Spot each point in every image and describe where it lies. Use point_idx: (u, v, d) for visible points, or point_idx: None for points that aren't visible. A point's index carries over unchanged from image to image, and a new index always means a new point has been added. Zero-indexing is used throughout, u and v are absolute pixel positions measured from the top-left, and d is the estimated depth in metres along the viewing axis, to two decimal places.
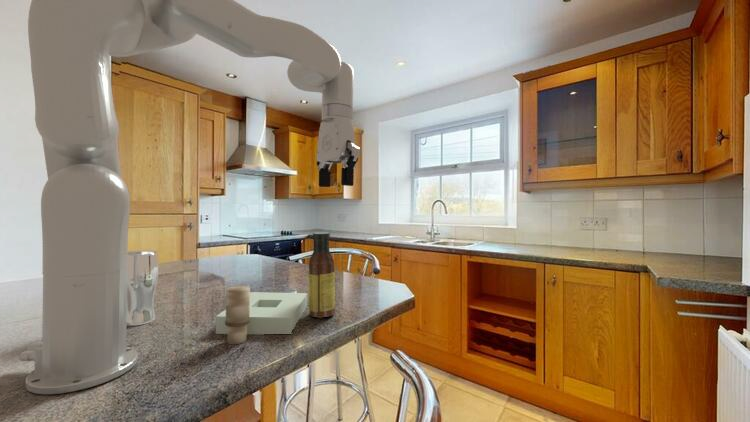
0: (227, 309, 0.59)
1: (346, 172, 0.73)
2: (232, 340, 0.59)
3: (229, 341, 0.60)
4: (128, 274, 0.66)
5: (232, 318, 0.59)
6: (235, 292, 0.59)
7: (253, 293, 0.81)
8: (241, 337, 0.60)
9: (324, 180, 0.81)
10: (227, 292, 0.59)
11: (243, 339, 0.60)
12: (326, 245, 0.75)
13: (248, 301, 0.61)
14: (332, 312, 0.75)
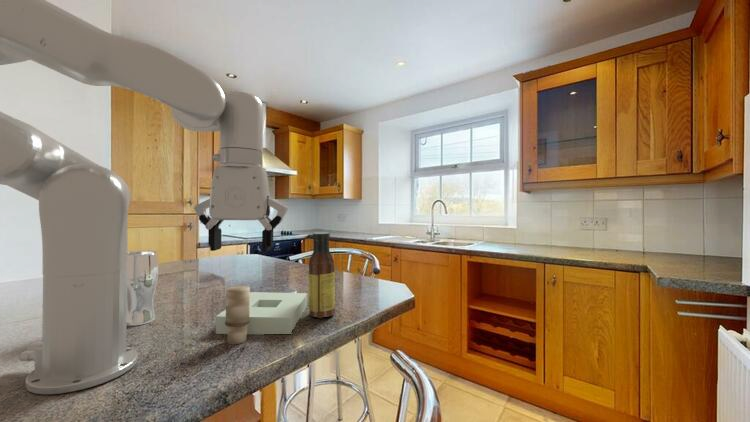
0: (227, 309, 0.59)
1: (269, 235, 0.60)
2: (232, 340, 0.59)
3: (229, 341, 0.60)
4: (128, 274, 0.66)
5: (232, 318, 0.59)
6: (235, 292, 0.59)
7: (253, 293, 0.81)
8: (241, 337, 0.60)
9: (217, 242, 0.61)
10: (227, 292, 0.59)
11: (243, 339, 0.60)
12: (326, 245, 0.75)
13: (248, 301, 0.61)
14: (332, 312, 0.75)
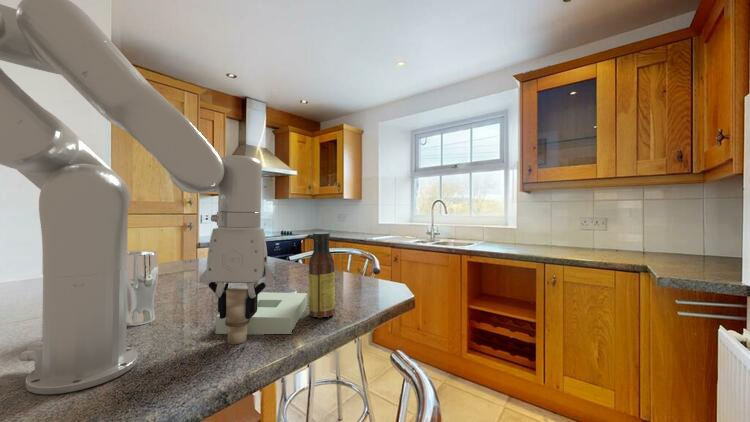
0: (227, 309, 0.59)
1: (252, 302, 0.60)
2: (233, 340, 0.59)
3: (229, 341, 0.60)
4: (128, 274, 0.66)
5: (232, 318, 0.59)
6: (235, 292, 0.59)
7: None
8: (241, 337, 0.60)
9: None
10: (227, 292, 0.59)
11: (243, 339, 0.60)
12: (326, 245, 0.75)
13: None
14: (332, 312, 0.75)
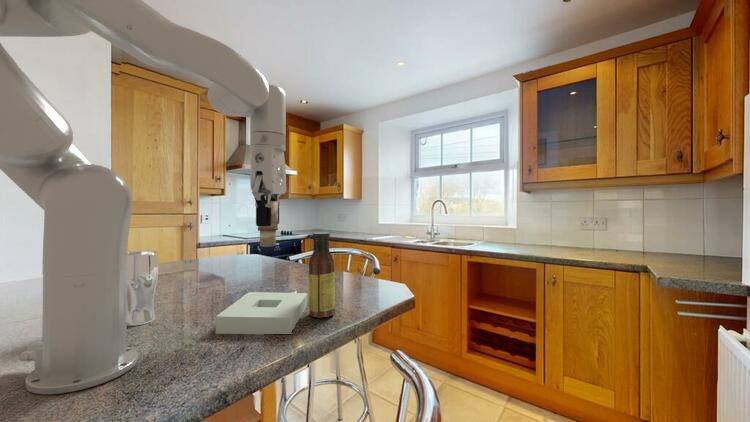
0: (273, 217, 0.70)
1: None
2: (275, 242, 0.72)
3: (272, 244, 0.71)
4: (128, 274, 0.66)
5: (276, 223, 0.71)
6: (277, 202, 0.72)
7: (253, 293, 0.81)
8: None
9: None
10: (272, 202, 0.70)
11: None
12: (326, 245, 0.75)
13: None
14: (332, 312, 0.75)
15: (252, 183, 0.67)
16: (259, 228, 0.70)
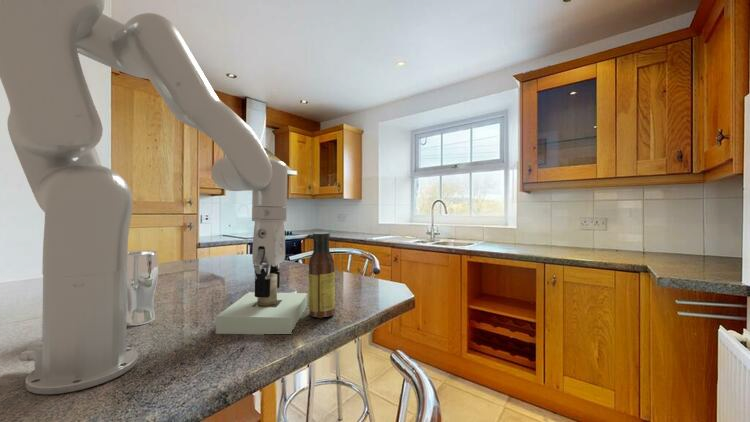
0: (273, 292, 0.72)
1: None
2: None
3: None
4: (128, 274, 0.66)
5: (276, 296, 0.73)
6: (276, 275, 0.73)
7: (253, 293, 0.81)
8: None
9: None
10: (272, 278, 0.72)
11: None
12: (326, 245, 0.75)
13: None
14: (332, 312, 0.75)
15: (254, 258, 0.68)
16: (259, 303, 0.71)
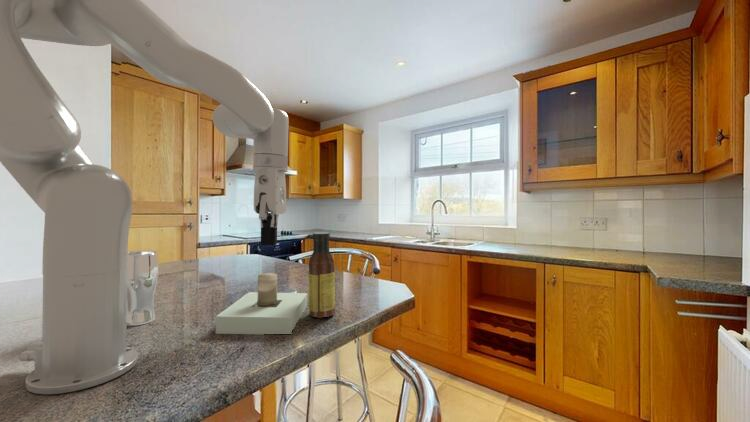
0: (273, 292, 0.72)
1: None
2: None
3: None
4: (128, 274, 0.66)
5: (276, 297, 0.73)
6: (276, 275, 0.73)
7: (253, 293, 0.81)
8: None
9: None
10: (272, 278, 0.72)
11: None
12: (326, 245, 0.75)
13: None
14: (332, 312, 0.75)
15: (255, 204, 0.68)
16: (259, 303, 0.71)
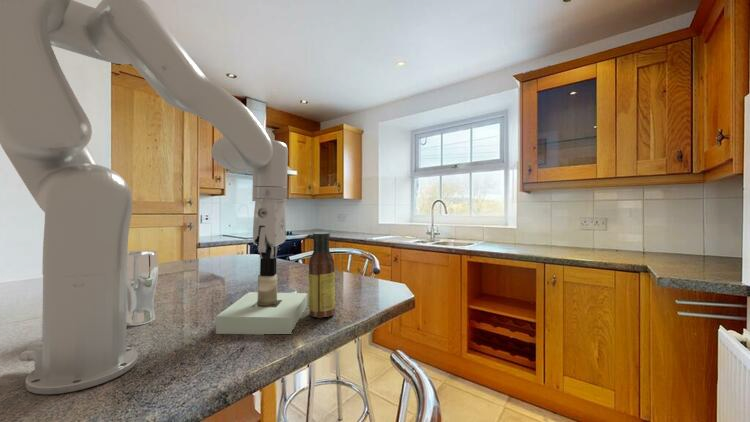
0: (273, 292, 0.72)
1: None
2: None
3: None
4: (128, 274, 0.66)
5: (276, 297, 0.73)
6: None
7: (253, 293, 0.81)
8: None
9: None
10: (272, 278, 0.72)
11: None
12: (326, 245, 0.75)
13: None
14: (332, 312, 0.75)
15: (255, 237, 0.68)
16: (259, 303, 0.71)
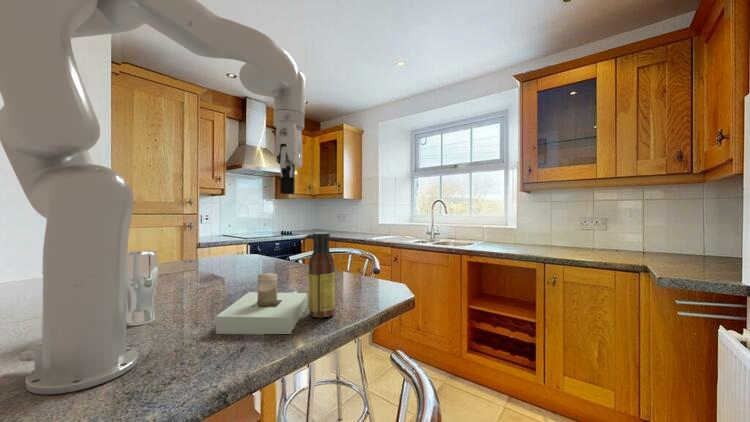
0: (273, 292, 0.72)
1: None
2: None
3: None
4: (128, 274, 0.66)
5: (276, 297, 0.73)
6: (276, 275, 0.73)
7: (253, 293, 0.81)
8: None
9: None
10: (272, 278, 0.72)
11: None
12: (326, 245, 0.75)
13: None
14: (332, 312, 0.75)
15: (277, 154, 0.76)
16: (259, 303, 0.71)
